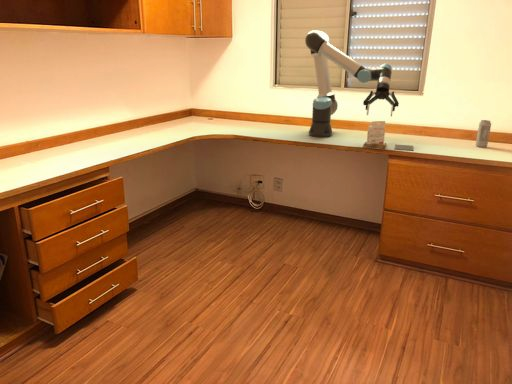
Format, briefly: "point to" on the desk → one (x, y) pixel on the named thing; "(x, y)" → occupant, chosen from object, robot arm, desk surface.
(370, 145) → the holder
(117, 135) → the desk surface
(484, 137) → the grey tall block
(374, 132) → the ink cartridge box
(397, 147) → the mat
